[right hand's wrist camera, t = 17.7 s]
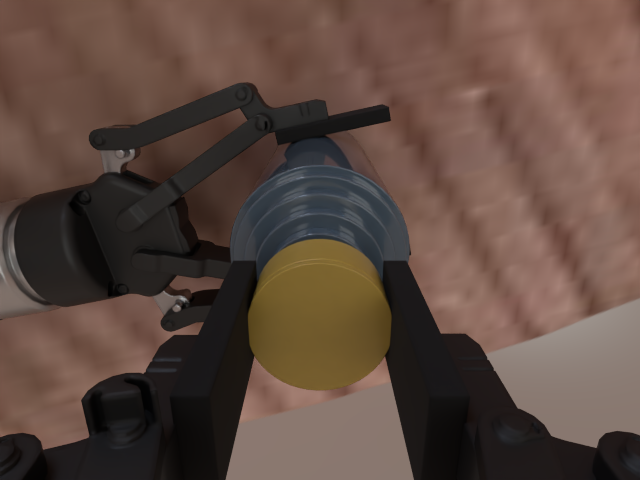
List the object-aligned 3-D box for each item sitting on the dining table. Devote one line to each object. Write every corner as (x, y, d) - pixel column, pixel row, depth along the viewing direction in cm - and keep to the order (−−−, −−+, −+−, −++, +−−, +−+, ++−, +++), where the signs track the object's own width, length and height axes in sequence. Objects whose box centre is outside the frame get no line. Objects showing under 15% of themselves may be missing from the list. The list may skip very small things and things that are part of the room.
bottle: (251, 178, 34) (146, 332, 13) (314, 101, 32) (305, 144, 11) (324, 238, 36) (330, 454, 15) (389, 168, 34) (495, 310, 13)
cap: (404, 322, 15) (416, 357, 13) (293, 369, 16) (290, 410, 14) (349, 215, 14) (354, 237, 12) (231, 272, 14) (218, 302, 12)
